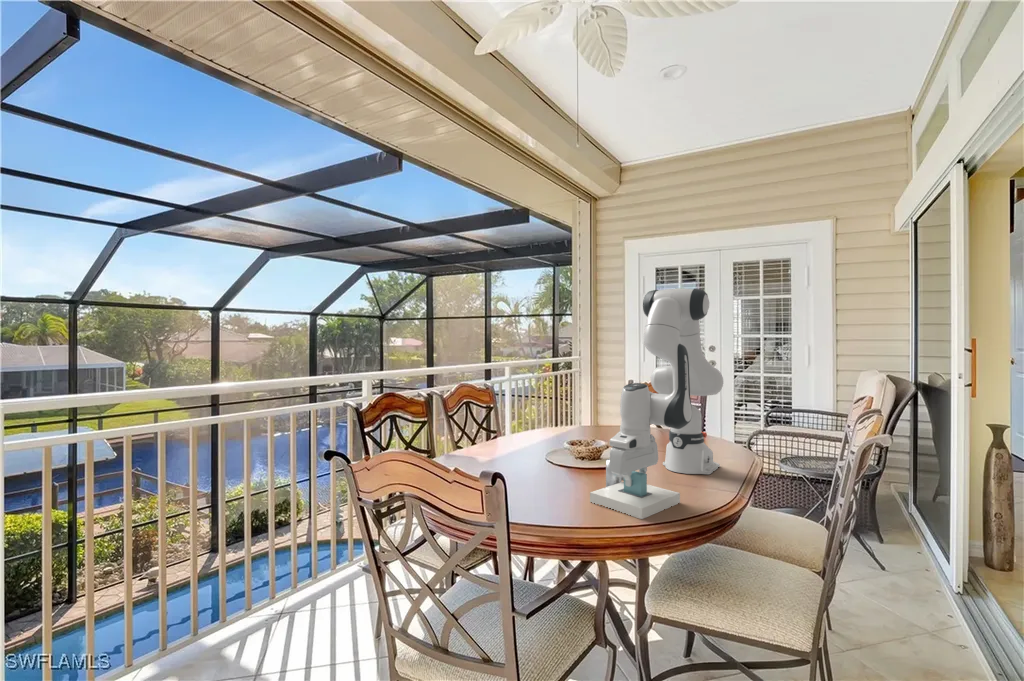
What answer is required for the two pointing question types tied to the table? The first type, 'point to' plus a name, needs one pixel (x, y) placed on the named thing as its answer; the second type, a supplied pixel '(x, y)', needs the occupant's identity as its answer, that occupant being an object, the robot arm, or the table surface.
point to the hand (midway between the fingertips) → (635, 484)
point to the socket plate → (635, 500)
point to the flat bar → (637, 484)
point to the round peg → (611, 475)
